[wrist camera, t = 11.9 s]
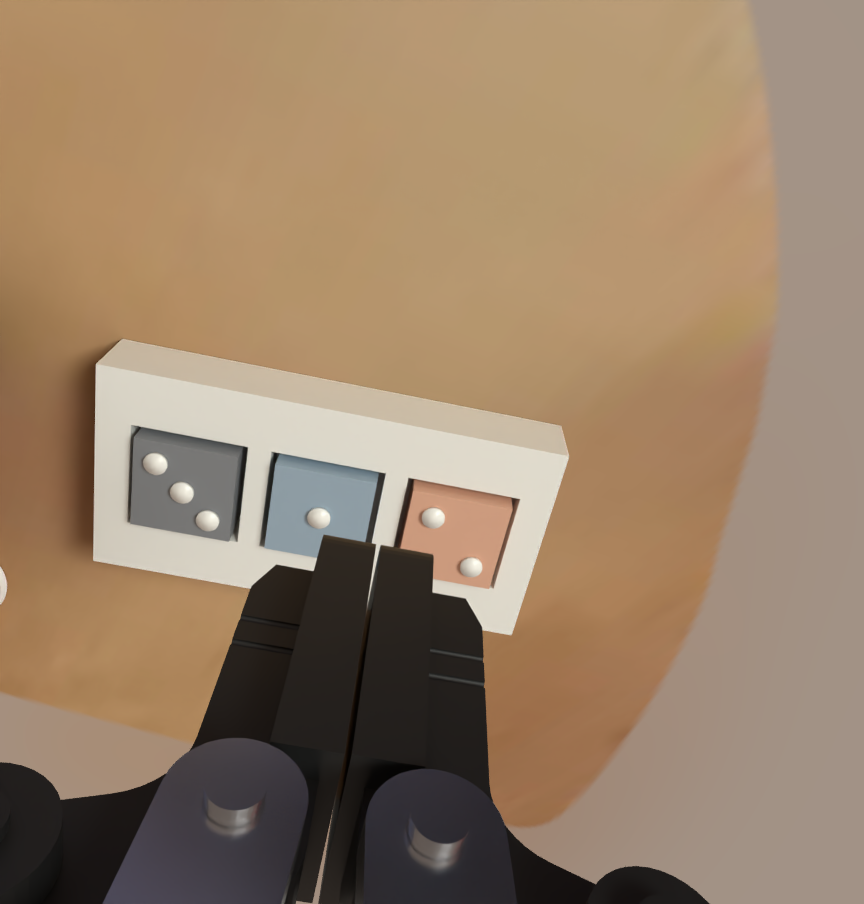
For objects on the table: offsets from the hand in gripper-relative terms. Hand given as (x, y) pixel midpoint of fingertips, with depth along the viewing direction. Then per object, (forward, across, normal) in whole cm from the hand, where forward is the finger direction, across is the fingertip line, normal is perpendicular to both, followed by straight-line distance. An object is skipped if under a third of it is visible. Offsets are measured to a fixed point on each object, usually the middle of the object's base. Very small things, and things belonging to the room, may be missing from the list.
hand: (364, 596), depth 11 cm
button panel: (+25, +2, +13) cm, 28 cm away
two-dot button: (+24, -4, +13) cm, 28 cm away
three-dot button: (+24, +8, +13) cm, 28 cm away
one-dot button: (+24, +2, +13) cm, 27 cm away
